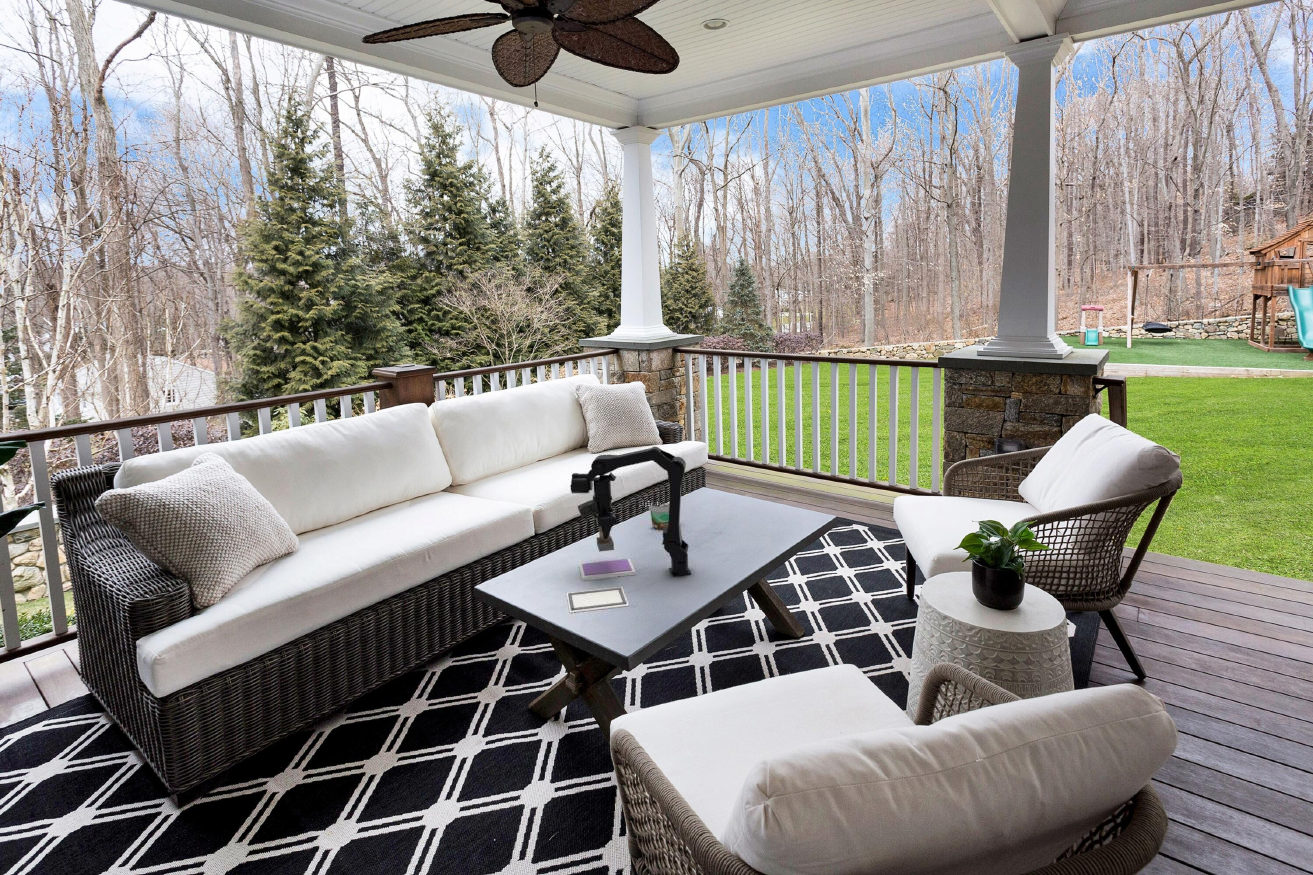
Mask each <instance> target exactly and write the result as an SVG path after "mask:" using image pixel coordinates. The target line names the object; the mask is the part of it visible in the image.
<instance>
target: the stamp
mask: <svg viewBox="0 0 1313 875" xmlns="http://www.w3.org/2000/svg"><path fill="white" fill-rule="evenodd" d="M598 532H599V533H598V534H599V537H596V545H597V549H598V551H599V552H608V551H609V552H610V551H614V550H615V547H614V546H615V544H614V541H613V537H612V536H611V532H610V533H609V536H608V538H607V539H604V537H603V533H602V529H601V526H598Z"/></svg>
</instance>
